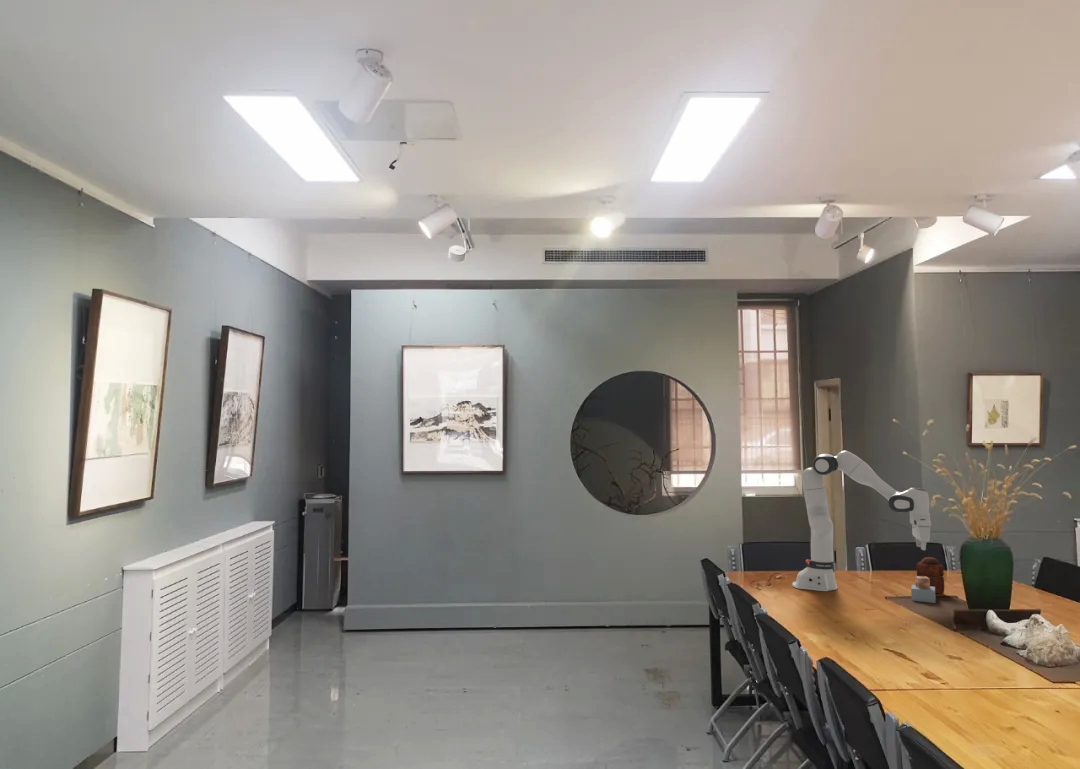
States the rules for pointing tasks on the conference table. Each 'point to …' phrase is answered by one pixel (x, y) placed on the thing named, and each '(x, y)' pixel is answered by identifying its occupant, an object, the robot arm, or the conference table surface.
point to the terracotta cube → (922, 582)
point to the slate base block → (923, 594)
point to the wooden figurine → (932, 573)
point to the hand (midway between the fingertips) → (921, 548)
